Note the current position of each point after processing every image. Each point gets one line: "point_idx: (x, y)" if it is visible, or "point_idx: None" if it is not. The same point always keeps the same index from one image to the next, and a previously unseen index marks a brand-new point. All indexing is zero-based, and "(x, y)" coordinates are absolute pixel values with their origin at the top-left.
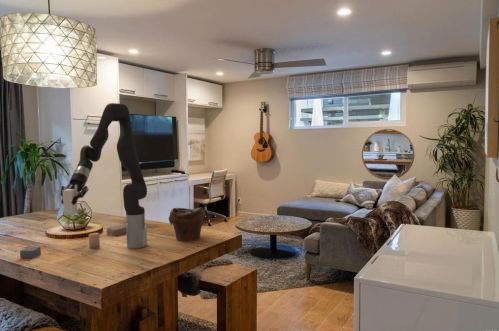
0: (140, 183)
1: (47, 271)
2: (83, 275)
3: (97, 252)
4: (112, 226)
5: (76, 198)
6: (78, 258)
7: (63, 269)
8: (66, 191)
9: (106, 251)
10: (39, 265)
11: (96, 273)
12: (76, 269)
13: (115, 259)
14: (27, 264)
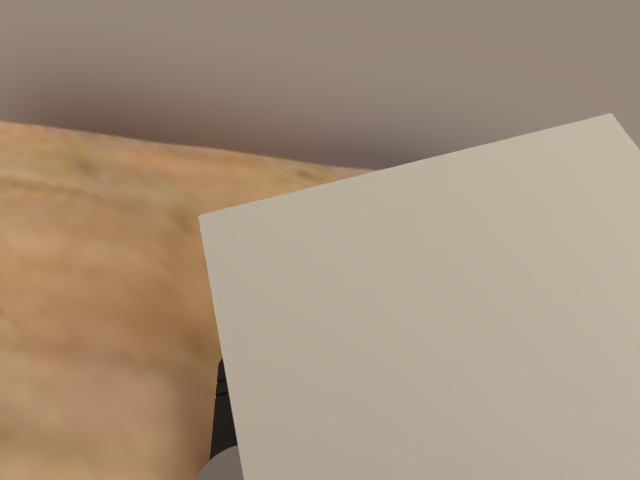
0: None
1: (217, 150)
2: (55, 163)
3: (164, 411)
4: None
5: (213, 433)
6: (202, 297)
7: (171, 181)
8: (426, 183)
9: (121, 448)
10: (301, 181)
11: (13, 190)
12: (119, 196)
13: (2, 348)
14: (358, 174)
